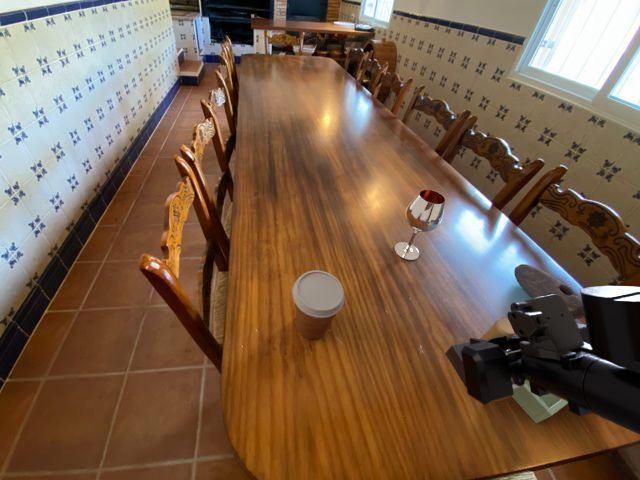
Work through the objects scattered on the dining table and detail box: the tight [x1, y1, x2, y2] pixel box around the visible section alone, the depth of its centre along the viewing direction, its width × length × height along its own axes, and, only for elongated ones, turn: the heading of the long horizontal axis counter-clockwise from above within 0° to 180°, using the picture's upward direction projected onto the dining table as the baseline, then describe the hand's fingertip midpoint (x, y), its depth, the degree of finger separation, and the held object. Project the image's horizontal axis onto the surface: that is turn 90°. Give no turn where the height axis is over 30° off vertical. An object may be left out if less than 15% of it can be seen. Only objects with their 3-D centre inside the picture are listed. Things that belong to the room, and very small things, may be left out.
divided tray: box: [511, 380, 568, 424], centre depth 54 cm, size 9×17×4 cm, turn 114°
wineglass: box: [393, 188, 447, 261], centre depth 72 cm, size 8×8×18 cm
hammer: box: [444, 317, 516, 389], centre depth 45 cm, size 6×4×13 cm
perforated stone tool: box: [514, 263, 585, 320], centre depth 67 cm, size 15×5×7 cm, turn 18°
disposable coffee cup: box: [291, 269, 346, 340], centre depth 56 cm, size 10×10×12 cm
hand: (478, 339), depth 46 cm, fingers closed on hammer, 2 cm apart
